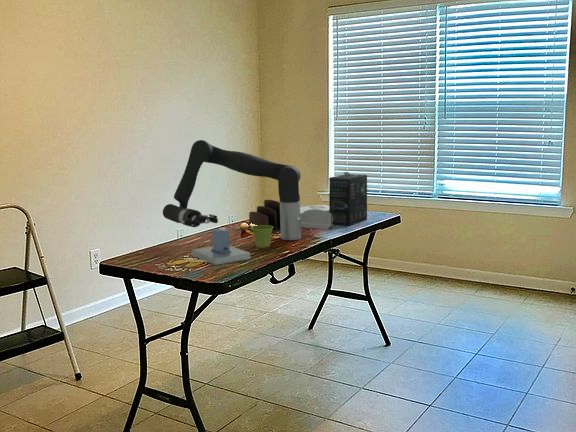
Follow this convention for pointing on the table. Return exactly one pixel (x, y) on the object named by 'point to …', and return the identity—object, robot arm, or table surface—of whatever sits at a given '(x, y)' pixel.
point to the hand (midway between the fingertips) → (207, 222)
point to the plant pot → (262, 235)
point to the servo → (220, 241)
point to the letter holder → (267, 215)
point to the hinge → (316, 219)
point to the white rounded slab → (320, 207)
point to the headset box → (348, 198)
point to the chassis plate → (220, 255)
